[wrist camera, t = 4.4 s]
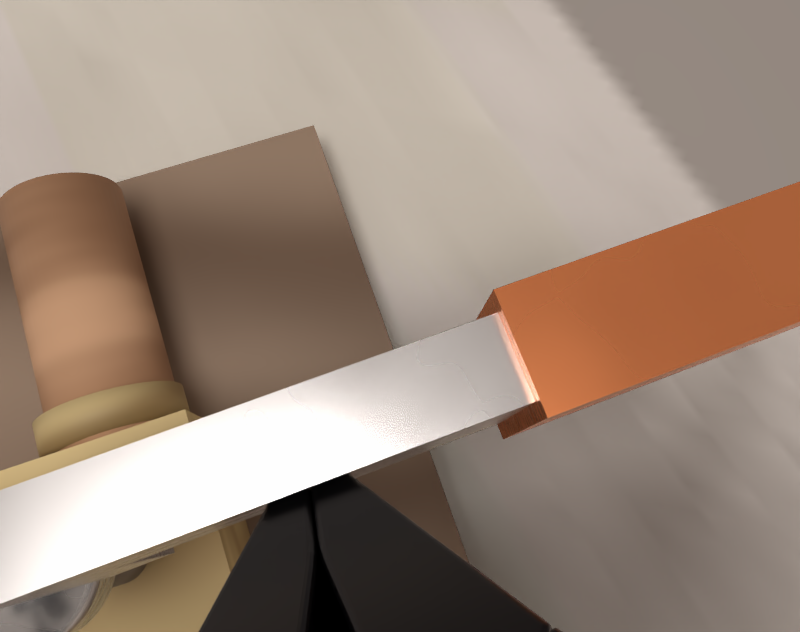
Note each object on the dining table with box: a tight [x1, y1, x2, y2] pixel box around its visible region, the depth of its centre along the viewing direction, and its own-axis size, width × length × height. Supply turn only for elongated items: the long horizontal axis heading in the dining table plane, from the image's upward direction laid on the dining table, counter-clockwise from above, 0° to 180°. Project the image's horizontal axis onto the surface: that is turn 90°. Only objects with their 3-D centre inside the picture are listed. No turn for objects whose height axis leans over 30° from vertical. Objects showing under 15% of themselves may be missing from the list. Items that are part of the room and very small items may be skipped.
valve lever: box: [0, 182, 800, 632], centre depth 9 cm, size 2×13×5 cm, turn 111°
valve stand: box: [0, 125, 469, 632], centre depth 15 cm, size 20×14×8 cm
